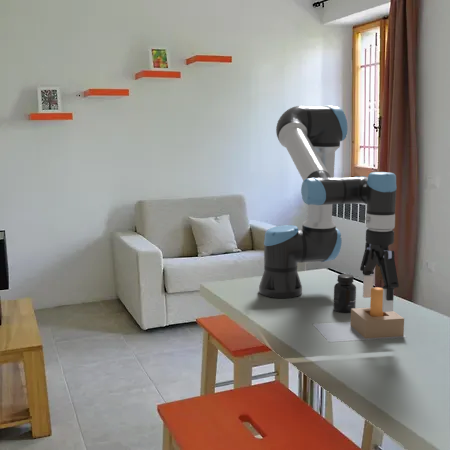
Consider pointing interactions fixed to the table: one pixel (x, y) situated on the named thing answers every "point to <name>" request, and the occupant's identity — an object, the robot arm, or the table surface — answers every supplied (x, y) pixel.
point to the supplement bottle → (344, 294)
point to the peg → (376, 302)
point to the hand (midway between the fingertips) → (377, 304)
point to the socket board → (342, 333)
